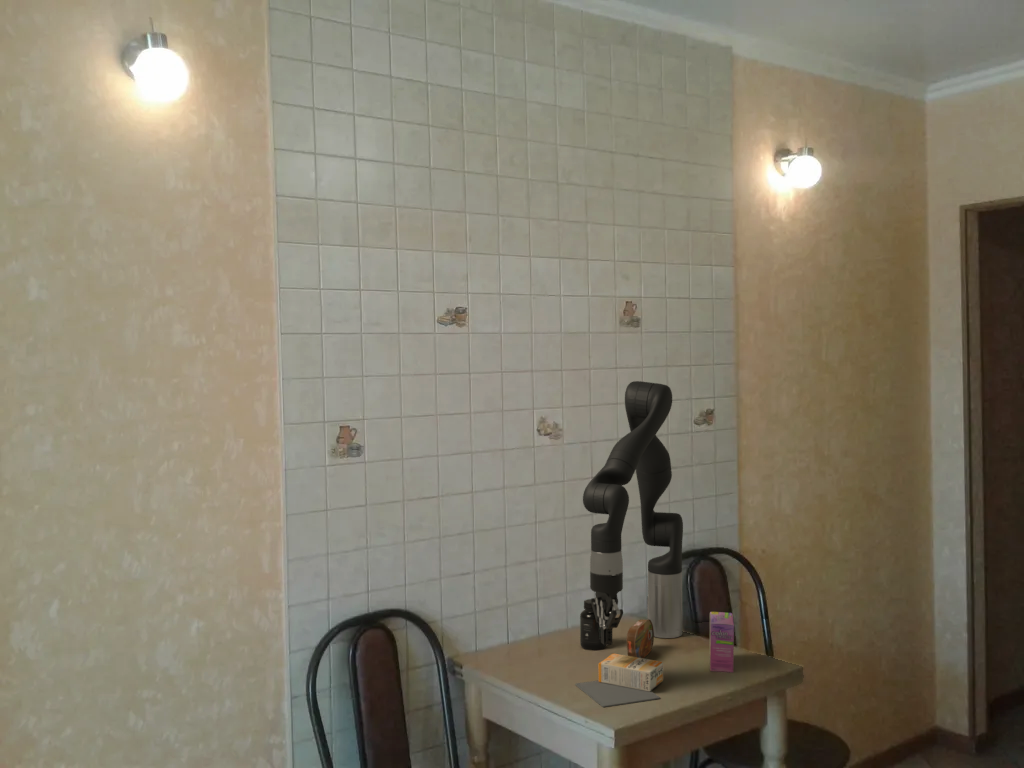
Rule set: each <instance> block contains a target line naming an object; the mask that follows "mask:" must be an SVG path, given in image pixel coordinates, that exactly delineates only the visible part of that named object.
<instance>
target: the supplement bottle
mask: <svg viewBox="0 0 1024 768" xmlns="http://www.w3.org/2000/svg"><path fill="white" fill-rule="evenodd" d="M583 609H584V610H582V611H581V612H580V615H579V619H580V620H579V632H580V633H579V635H580V637H579V641H580V643H579V645H580V647H581V648H582V649H584V650H588V651H600V650H604V649H605V648H607V645H604V644H603V643H601V627H600V625H599V622H598V623H597V621H596V618H595V614H594V611H593V607H592V604H591V598H588V599H585V600H584V601H583Z"/></svg>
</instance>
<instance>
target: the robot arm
mask: <svg viewBox="0 0 1024 768" xmlns="http://www.w3.org/2000/svg"><path fill="white" fill-rule="evenodd" d="M624 392H625V393H624V408H625V413H626V418H627V421H628V427H629V430H630V432H628V433H627V434H626V435H624V436H623V437H621V438H620V439H619V440H618V441H617V442H616V443H615V444H614V446H613V447H612V448H611V451H610V452H609V453H610V454H609V456H608V457H607V460H606V461H605V464H604V465H603V467H602V468H601V469H599V471H598V472H597V474H595V476H594V477H593V478H592V479H591V480H590V481H589V482H588V484H587V485H586V487H585V489H584V490H583V495H582V503H583V506H584V508H585V509H586V511H588V512H589V513H593V514H600V515H608V518H607V521H606V522H604V523H603V522H602V523H597V524H594V525H593V526H591V527H592V528H591V530H590V557H589V566H590V567H589V582H590V583H589V584H590V585H589V589H590V590H591V591H592V592H594V593H595V597H594V598H593V597H592V598H590V599H591V604H592V607H593V611H594V614H595V618H596V621H597V623H598V622H599V625H600V627H601V643H603V644H604V645H606V646H610V645H613V629H616V628H618V627H619V624H620V622H621V619H622V617H623V615H624V610H623V609H620V608H619V607H618V605H619V598H618V593H620V592H621V591H623V589H624V579H623V578H624V575H623V573H624V567H623V566H624V563H623V553H622V552H623V551H622V533H623V528H624V523H625V519H626V515H627V511H628V509H629V503H630V496H629V493H628V490H627V489H626V487H624V486H625V485H628V484H629V483H630V482H631V480H632V478H633V477H634V474H636V480H637V486H638V492H639V493H638V494H639V501H640V519H641V533H642V539H643V541H644V543H645V544H646V545H647V546H651V547H665V548H669V550H668V552H666V553H665V554H663V555H659V556H657V557H652V558H650V559H649V560H648V562H647V598H646V599H647V601H646V603H647V605H646V607H647V609H646V610H647V614H646V615H647V619H646V620H648V619H649V620H651V622H652V624H653V630H654V638H660V639H674V638H679V637H681V636H682V635H683V537H684V536H683V535H684V521H683V517H682V516H681V514H680V513H677V512H663V511H661V512H660V511H659V512H657V511H655V506H657V505H656V504H657V503H658V501H659V499H660V498H661V496H662V495H663V494H664V493H665V491H666V489H667V488H668V487H669V486H670V483H671V481H672V476H673V472H672V463H671V457H670V456H671V455H670V453H669V451H668V449H667V448H666V447H665V444H663V443H662V441H661V440H660V438H659V437H658V436H657V433H658V432H659V430H660V428H661V427H662V426H663V425H664V423H665V422H666V420H667V418H668V416H669V414H670V412H671V409H672V406H673V392H672V389H671V387H669V385H667V384H662V383H657V382H648V381H641V380H634V381H631V382H629V384H628V385H626V389H625V391H624Z"/></svg>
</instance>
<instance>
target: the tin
mask: <svg viewBox="0 0 1024 768" xmlns="http://www.w3.org/2000/svg"><path fill="white" fill-rule="evenodd" d="M654 640H655V636H654V630H653V624H652V622H651V620H649V619H648V620H647V619H638V620H637V621H636V622H635V623H634V624H632V625H631V626H630V627H629V629H628V630H627V634H626V640H625V641H626V649H627V650H626V651H627V656H631V657H637V658H643V659H646V657H647V656H648V655H649V654H650V653H651V652H652V650H653V647H654Z"/></svg>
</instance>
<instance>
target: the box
mask: <svg viewBox="0 0 1024 768" xmlns="http://www.w3.org/2000/svg"><path fill="white" fill-rule="evenodd" d="M734 639H735V623H734V615H733V612H725V611H724V612H723V611H722V612H721V611H710V612H709V671H710V672H714V673H715V672H716V673H729V674H730V673H733V674H734V654H735V653H734V652H735V651H734V645H735V644H734V643H735V640H734Z"/></svg>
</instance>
